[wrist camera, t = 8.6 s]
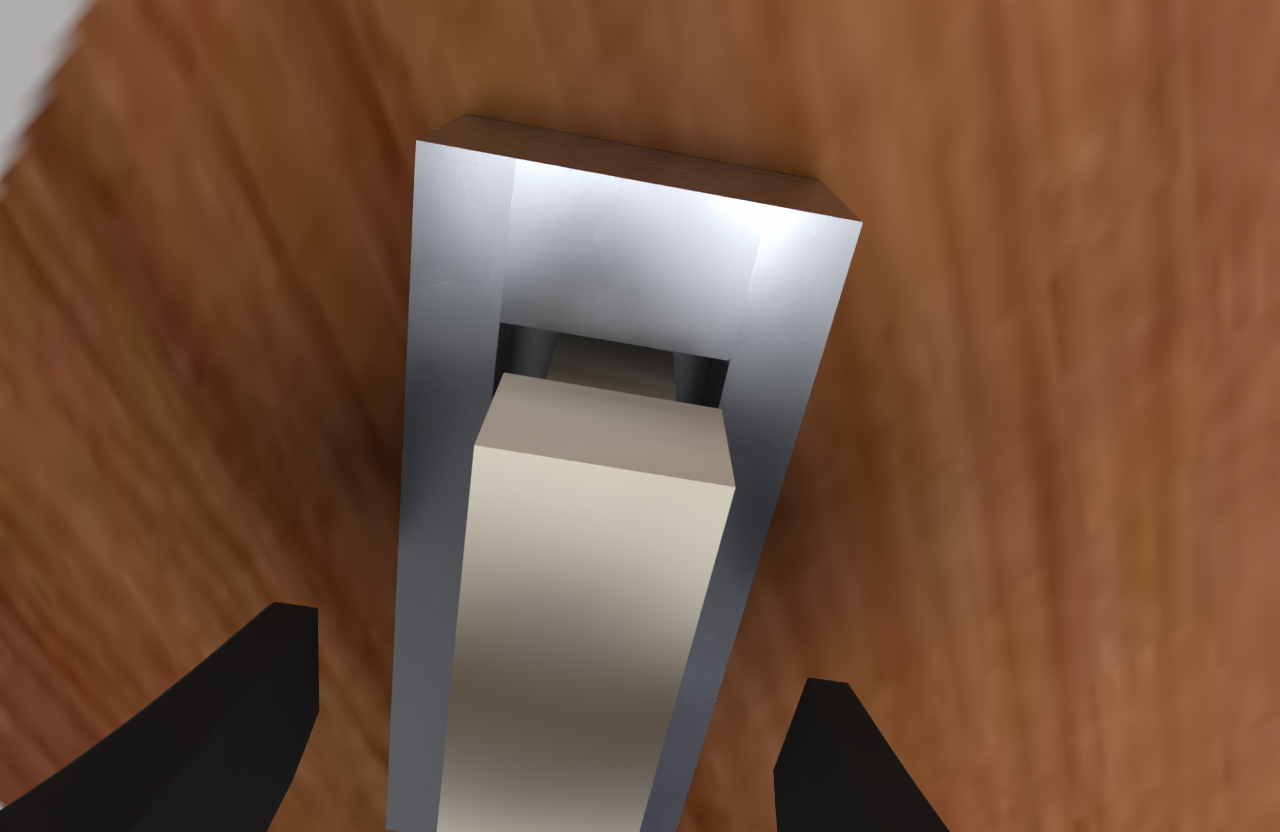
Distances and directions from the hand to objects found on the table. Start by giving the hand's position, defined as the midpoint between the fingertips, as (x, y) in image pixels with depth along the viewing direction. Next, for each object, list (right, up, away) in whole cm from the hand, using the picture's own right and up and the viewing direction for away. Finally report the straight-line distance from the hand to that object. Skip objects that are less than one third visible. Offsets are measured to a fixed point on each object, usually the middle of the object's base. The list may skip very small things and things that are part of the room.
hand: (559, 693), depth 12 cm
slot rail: (0, +2, +5) cm, 5 cm away
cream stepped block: (0, +2, +4) cm, 4 cm away
